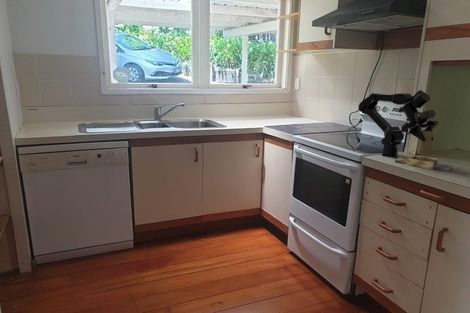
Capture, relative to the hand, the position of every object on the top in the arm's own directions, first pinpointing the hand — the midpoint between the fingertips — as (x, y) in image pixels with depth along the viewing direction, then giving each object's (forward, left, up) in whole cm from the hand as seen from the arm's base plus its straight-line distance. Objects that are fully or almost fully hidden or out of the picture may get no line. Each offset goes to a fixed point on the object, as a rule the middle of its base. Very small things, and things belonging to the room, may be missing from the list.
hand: (428, 140), depth 161 cm
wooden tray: (-1, 0, -12) cm, 12 cm away
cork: (-1, +1, -7) cm, 7 cm away
